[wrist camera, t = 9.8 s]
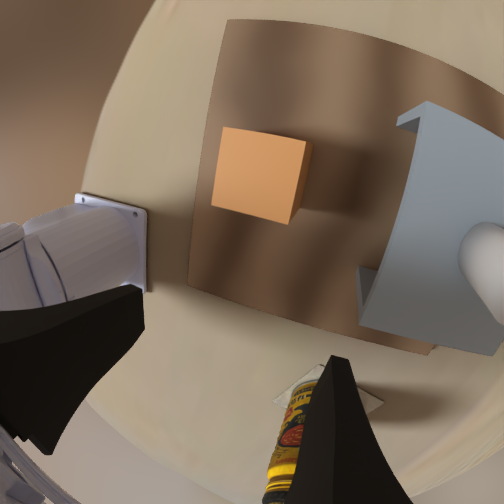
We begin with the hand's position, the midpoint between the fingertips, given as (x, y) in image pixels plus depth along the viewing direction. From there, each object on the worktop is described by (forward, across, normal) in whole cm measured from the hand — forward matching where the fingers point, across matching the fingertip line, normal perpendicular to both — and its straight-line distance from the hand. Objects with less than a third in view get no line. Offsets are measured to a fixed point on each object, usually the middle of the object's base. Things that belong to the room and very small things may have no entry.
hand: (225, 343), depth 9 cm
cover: (+9, -9, -5) cm, 14 cm away
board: (+10, -4, -5) cm, 12 cm away
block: (+10, +2, -5) cm, 11 cm away
